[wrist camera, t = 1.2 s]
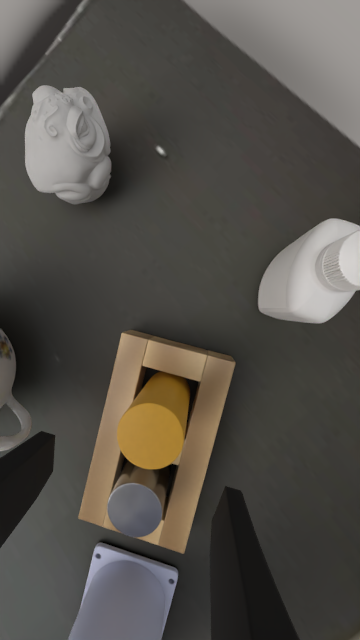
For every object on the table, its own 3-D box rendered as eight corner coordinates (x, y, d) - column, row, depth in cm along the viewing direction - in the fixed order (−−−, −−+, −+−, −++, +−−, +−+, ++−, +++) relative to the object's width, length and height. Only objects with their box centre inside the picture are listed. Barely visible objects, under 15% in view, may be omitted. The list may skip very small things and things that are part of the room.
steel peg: (165, 491, 22) (154, 545, 17) (123, 478, 22) (101, 527, 17) (176, 450, 21) (168, 493, 17) (133, 437, 22) (113, 475, 17)
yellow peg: (184, 419, 21) (174, 478, 14) (141, 407, 22) (109, 458, 14) (195, 376, 21) (191, 413, 14) (151, 364, 21) (124, 394, 14)
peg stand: (231, 356, 21) (235, 362, 18) (186, 526, 22) (183, 554, 19) (131, 329, 21) (121, 332, 19) (91, 495, 22) (77, 518, 20)
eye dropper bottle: (237, 287, 20) (289, 256, 8) (290, 242, 20) (427, 141, 8) (271, 326, 20) (372, 351, 8) (325, 282, 20) (517, 241, 8)
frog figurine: (144, 170, 21) (114, 100, 14) (94, 234, 21) (42, 198, 14) (91, 127, 21) (36, 36, 14) (44, 192, 22) (-31, 136, 15)
